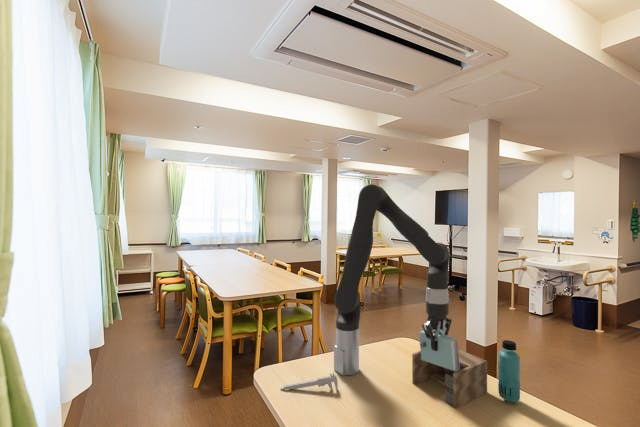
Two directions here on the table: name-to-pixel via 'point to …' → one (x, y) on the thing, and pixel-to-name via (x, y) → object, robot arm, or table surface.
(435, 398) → the table surface
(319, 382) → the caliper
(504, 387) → the beverage bottle
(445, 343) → the door
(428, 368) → the cabinet
